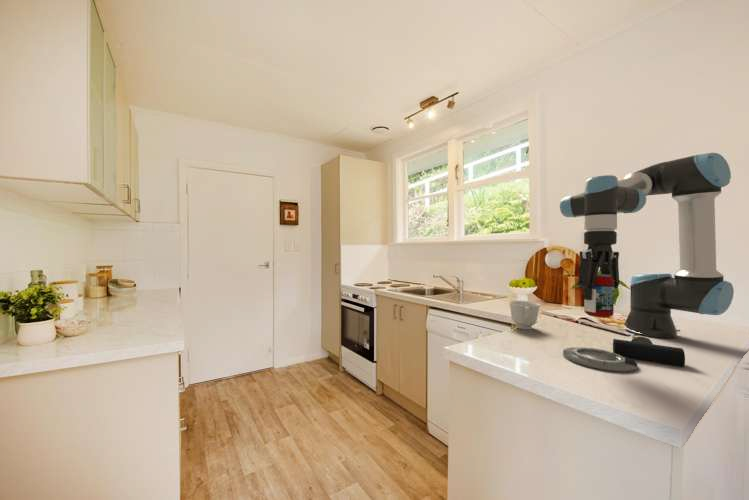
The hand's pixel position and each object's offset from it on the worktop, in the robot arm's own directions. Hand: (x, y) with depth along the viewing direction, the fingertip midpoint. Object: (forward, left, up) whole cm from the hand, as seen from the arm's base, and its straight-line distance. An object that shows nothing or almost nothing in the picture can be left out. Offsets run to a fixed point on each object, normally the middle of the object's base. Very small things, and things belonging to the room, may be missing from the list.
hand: (598, 310), depth 87 cm
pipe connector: (-17, +2, -15) cm, 23 cm away
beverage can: (0, 0, -2) cm, 2 cm away
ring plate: (0, 0, -14) cm, 14 cm away
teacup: (-9, -34, -15) cm, 38 cm away
